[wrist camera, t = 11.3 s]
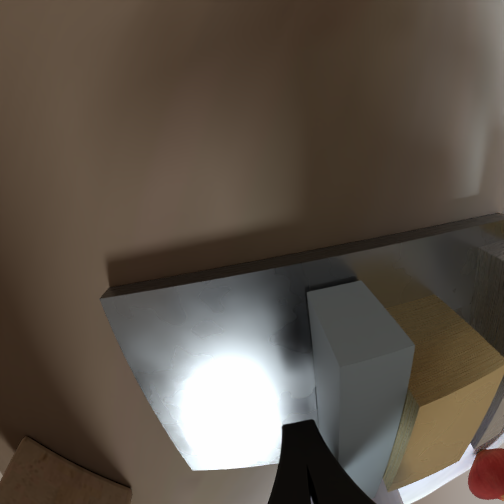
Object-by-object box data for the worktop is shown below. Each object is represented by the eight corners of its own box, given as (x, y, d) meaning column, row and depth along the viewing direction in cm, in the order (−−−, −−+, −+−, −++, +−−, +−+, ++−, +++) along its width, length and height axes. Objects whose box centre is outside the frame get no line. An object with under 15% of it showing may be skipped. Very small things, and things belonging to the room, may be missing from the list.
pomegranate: (503, 436, 19) (532, 479, 12) (467, 468, 21) (490, 513, 13) (493, 431, 18) (526, 481, 10) (451, 467, 19) (477, 519, 12)
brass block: (417, 392, 13) (458, 460, 8) (356, 412, 13) (388, 492, 8) (434, 294, 11) (508, 362, 6) (360, 314, 11) (419, 406, 6)
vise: (463, 390, 15) (499, 439, 10) (193, 457, 15) (187, 525, 10) (498, 212, 11) (573, 244, 6) (109, 287, 11) (48, 363, 6)
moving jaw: (355, 440, 13) (375, 497, 10) (320, 449, 13) (334, 508, 10) (361, 280, 10) (415, 344, 6) (306, 291, 10) (339, 367, 6)
